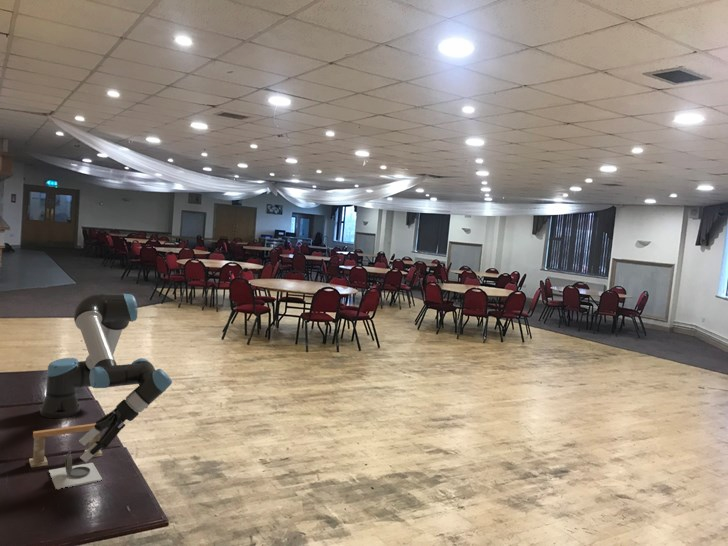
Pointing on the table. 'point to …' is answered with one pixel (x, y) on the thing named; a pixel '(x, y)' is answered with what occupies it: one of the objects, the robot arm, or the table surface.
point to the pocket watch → (75, 471)
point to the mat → (66, 480)
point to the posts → (40, 450)
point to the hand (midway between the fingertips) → (82, 451)
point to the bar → (63, 430)
